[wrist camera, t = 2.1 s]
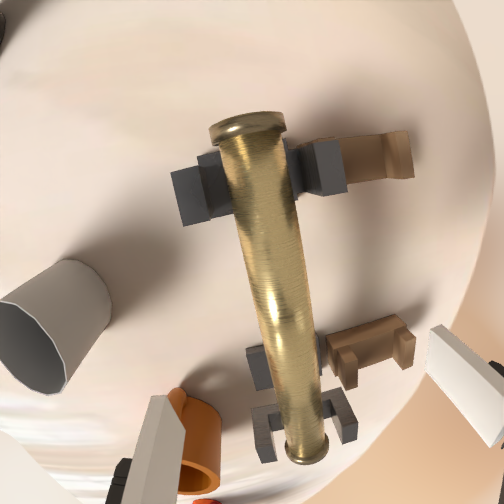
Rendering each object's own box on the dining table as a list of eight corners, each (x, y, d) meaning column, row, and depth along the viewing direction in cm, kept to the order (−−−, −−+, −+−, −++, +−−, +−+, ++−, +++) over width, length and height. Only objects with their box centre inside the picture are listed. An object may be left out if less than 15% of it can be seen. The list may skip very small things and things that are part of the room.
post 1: (195, 157, 22) (164, 143, 11) (285, 139, 22) (332, 111, 11) (209, 217, 23) (190, 255, 12) (297, 198, 23) (351, 220, 13)
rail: (211, 132, 14) (205, 120, 11) (276, 120, 14) (289, 105, 11) (283, 438, 21) (289, 469, 17) (323, 428, 21) (333, 458, 17)
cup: (107, 261, 24) (49, 309, 14) (118, 339, 26) (80, 405, 16) (39, 257, 23) (-24, 294, 13) (53, 329, 25) (6, 381, 15)
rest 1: (296, 146, 22) (313, 139, 17) (380, 136, 22) (410, 130, 18) (305, 188, 23) (323, 192, 18) (386, 174, 23) (417, 177, 19)
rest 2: (325, 335, 27) (341, 364, 22) (394, 314, 27) (418, 336, 22) (328, 362, 28) (342, 391, 23) (393, 340, 28) (414, 364, 23)
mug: (235, 383, 28) (238, 449, 19) (215, 444, 31) (214, 499, 22) (151, 365, 27) (130, 428, 18) (147, 430, 30) (134, 484, 21)
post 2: (243, 349, 27) (251, 438, 16) (317, 331, 27) (358, 411, 16) (253, 385, 28) (264, 470, 17) (321, 369, 28) (356, 447, 17)
